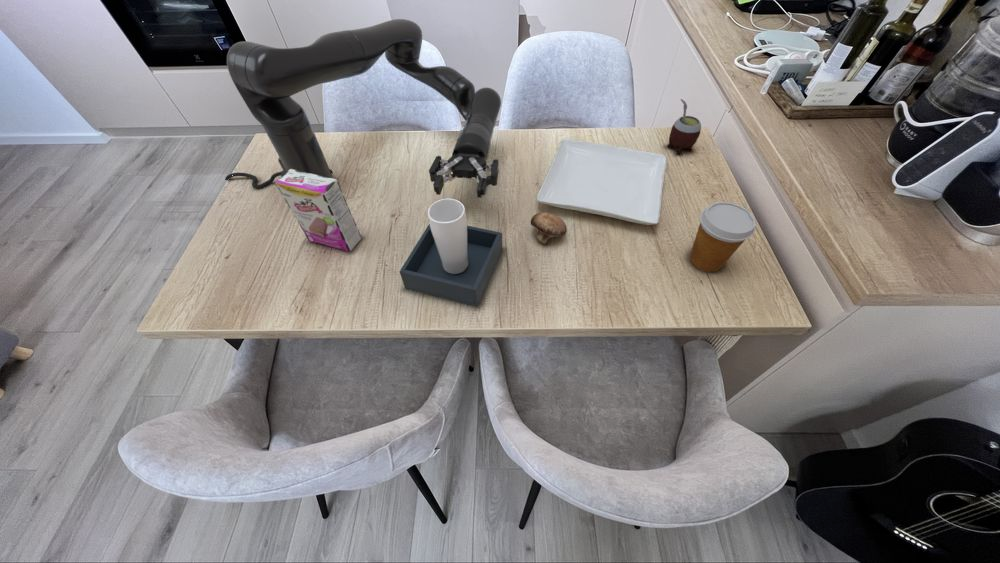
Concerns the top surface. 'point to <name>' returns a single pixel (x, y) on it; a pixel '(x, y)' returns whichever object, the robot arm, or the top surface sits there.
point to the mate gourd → (684, 132)
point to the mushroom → (548, 226)
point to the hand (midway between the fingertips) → (457, 192)
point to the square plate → (605, 181)
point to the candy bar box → (320, 209)
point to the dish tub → (464, 287)
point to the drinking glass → (450, 234)
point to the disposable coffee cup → (720, 234)
